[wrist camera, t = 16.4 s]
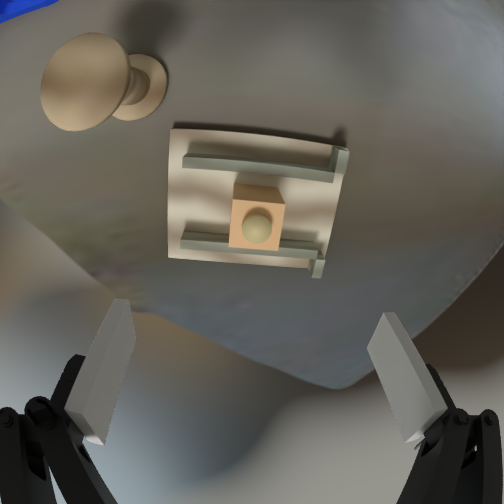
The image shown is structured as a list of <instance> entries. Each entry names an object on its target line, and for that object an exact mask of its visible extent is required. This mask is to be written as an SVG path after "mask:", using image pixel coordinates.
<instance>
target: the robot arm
mask: <svg viewBox="0 0 504 504" xmlns="http://www.w3.org/2000/svg"><path fill="white" fill-rule="evenodd" d="M135 342H136V335H135V330H134V325H133V321H132V315H131V310H130V304H129V300H126V299H117V298H115V299H114V301H113V303H112V304H111V306H110V308H109V310H108V312H107V314H106V316H105V318H104V320H103V322H102V324H101V326H100V328H99V330H98V333H97V334H96V337H95V338H94V341H93V343H92V345H91V347H90V349H89V351H88V353H87V355H86V356H81V355H77V354H75V355H74V356H73V357H72V358H71V359H70V360H69V361H68V363H67V364H66V367H65V369H64V372H63V373H62V375H61V377H60V380H59V381H58V384H57V386H56V388H55V390H54V393H53V395H52V397H51V400H49V399H47V398H46V397H42V396H37V397H34V398H32V399H30V400H29V401H28V402H27V404H26V406H25V409H24V411H25V414H18V413H17V412H16V411H15V410H14V409H12V408H11V407H4V408H2V409H0V497H1V503H2V504H57V502H56V499H55V494H54V490H53V485H52V481H51V476H50V471H49V467H50V469H51V472H52V474H53V476H54V478H55V481H56V482H57V485H58V487H59V489H60V491H61V493H62V495H63V497H64V499H65V501H66V503H67V504H118V503H117V502H116V500H115V499H114V497H113V496H112V494H111V492H110V491H109V489H108V488H107V486H106V485H105V483H104V481H103V480H102V478H101V476H100V474H99V473H98V471H97V469H96V467H95V465H94V464H93V462H92V460H91V458H90V456H89V454H88V452H87V451H86V449H85V447H84V445H83V443H82V441H83V438H84V436H85V437H86V439H87V440H88V441H90V442H93V443H96V444H101V445H105V442H106V438H107V434H108V430H109V426H110V422H111V419H112V415H113V412H114V408H115V405H116V402H117V398H118V395H119V391H120V388H121V385H122V381H123V378H124V375H125V372H126V369H127V366H128V363H129V359H130V357H131V354H132V351H133V348H134V345H135ZM367 350H368V352H369V355H370V357H371V359H372V362H373V364H374V366H375V369H376V371H377V374H378V376H379V378H380V381H381V383H382V386H383V388H384V391H385V393H386V395H387V398H388V400H389V403H390V406H391V408H392V411H393V413H394V416H395V418H396V421H397V424H398V426H399V429H400V432H401V435H402V437H403V440H404V443H406V442H410V441H413V440H417V439H418V438H419V437H420V436H421V435H422V434H423V433H424V436H425V438H424V439H423V440H422V441H421V442H420V443H419V444H418V445H417V446H416V447H415V448H414V449H415V450H416V449H417V448H418V447H420V449H419V452H418V454H417V457H416V460H415V463H414V465H413V468H412V470H411V472H410V475H409V477H408V479H407V482H406V484H405V486H404V488H403V491H402V493H401V495H400V497H399V499H398V501H397V503H396V504H502V490H503V489H502V488H503V469H502V448H501V437H500V427H499V420H498V416H497V415H496V413H495V412H494V411H492V410H490V409H486V410H484V411H483V412H482V413H481V414H480V415H468V414H467V412H466V411H464V410H463V409H459V408H456V407H455V405H454V403H453V401H452V399H451V397H450V395H449V393H448V391H447V389H446V388H445V386H444V385H443V382H442V380H440V376H439V375H438V373H437V371H436V370H435V369H434V368H433V367H432V366H431V365H430V364H424V362H423V360H422V358H421V356H420V355H419V353H418V351H417V349H416V348H415V346H414V344H413V343H412V341H411V339H410V337H409V336H408V334H407V332H406V331H405V329H404V327H403V326H402V324H401V322H400V321H399V319H398V317H397V316H396V314H395V312H392V313H383V314H382V317H381V319H380V321H379V323H378V325H377V328H376V330H375V332H374V334H373V336H372V338H371V340H370V343H369V345H368V347H367ZM475 446H477V451H475Z"/></svg>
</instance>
